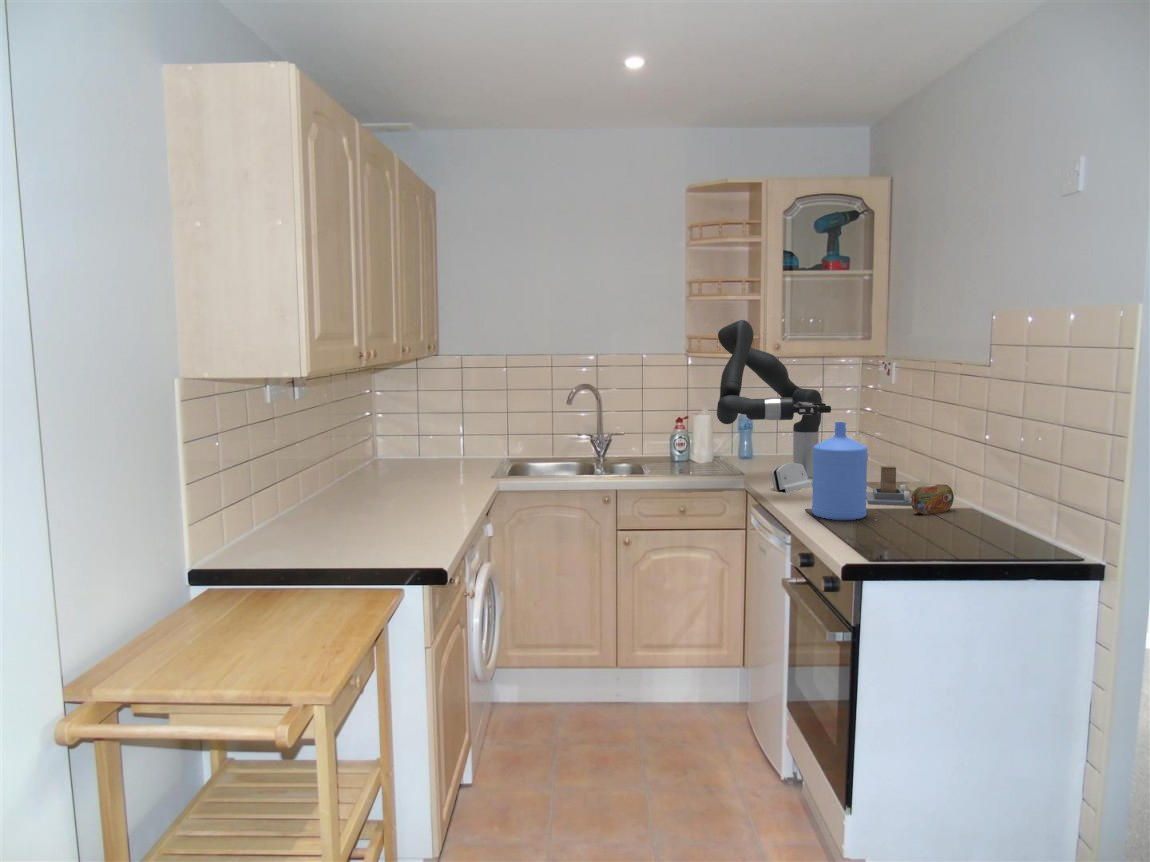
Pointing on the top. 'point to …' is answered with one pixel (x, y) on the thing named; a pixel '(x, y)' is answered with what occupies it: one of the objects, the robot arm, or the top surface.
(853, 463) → the water jug
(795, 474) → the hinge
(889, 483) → the block
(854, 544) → the top surface
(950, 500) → the tin
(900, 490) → the seat board
